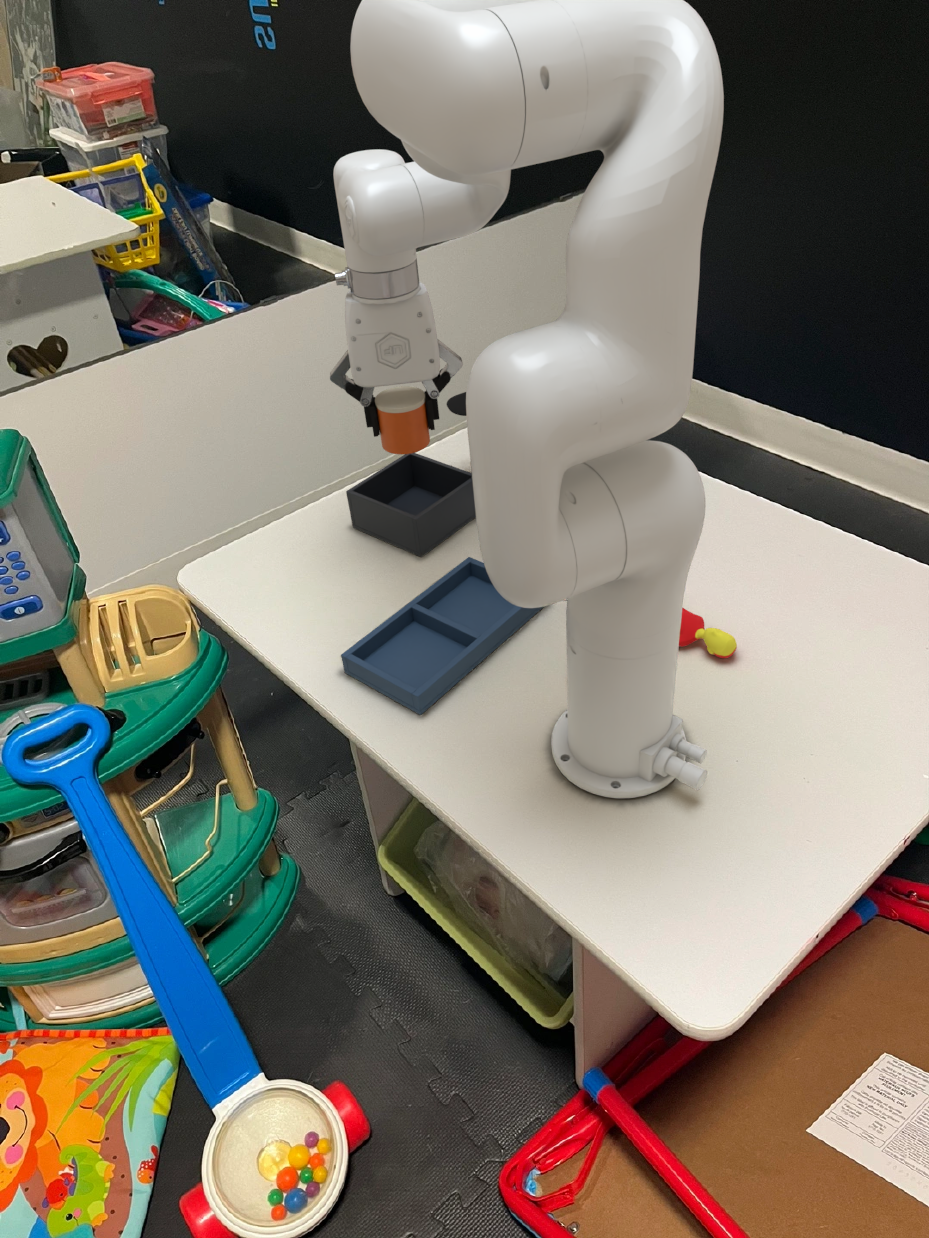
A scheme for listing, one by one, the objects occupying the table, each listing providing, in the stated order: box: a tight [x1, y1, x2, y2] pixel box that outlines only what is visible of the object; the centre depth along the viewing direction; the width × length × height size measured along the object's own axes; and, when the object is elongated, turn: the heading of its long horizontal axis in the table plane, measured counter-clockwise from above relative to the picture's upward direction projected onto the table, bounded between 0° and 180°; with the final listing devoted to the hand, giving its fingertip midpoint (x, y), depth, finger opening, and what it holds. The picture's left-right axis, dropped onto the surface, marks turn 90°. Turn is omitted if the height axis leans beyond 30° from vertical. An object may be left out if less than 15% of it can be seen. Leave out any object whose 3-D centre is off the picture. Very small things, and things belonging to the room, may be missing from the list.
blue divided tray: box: [340, 556, 544, 716], centre depth 101 cm, size 11×21×3 cm, turn 140°
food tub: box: [374, 385, 431, 455], centre depth 110 cm, size 6×6×6 cm
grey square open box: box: [345, 452, 476, 558], centre depth 119 cm, size 12×12×6 cm
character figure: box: [679, 606, 738, 659], centre depth 100 cm, size 6×4×20 cm
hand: (403, 426), depth 111 cm, fingers closed on food tub, 6 cm apart
